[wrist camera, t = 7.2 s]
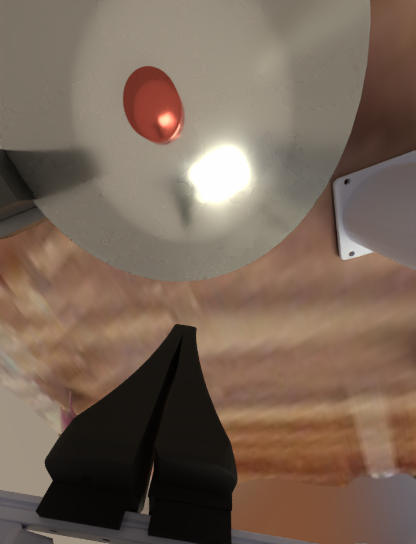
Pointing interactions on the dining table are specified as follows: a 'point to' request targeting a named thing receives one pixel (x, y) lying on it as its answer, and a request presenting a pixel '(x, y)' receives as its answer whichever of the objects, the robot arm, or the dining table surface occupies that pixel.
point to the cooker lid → (176, 122)
